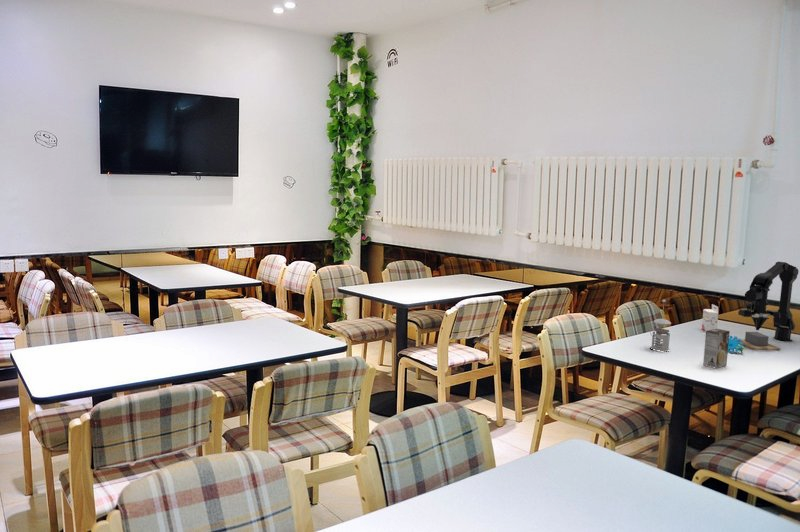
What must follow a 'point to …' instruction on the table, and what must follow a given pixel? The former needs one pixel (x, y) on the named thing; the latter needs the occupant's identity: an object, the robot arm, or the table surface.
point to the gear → (735, 345)
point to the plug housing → (756, 338)
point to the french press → (660, 335)
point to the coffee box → (716, 348)
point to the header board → (753, 347)
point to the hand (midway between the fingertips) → (757, 330)
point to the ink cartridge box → (710, 318)
